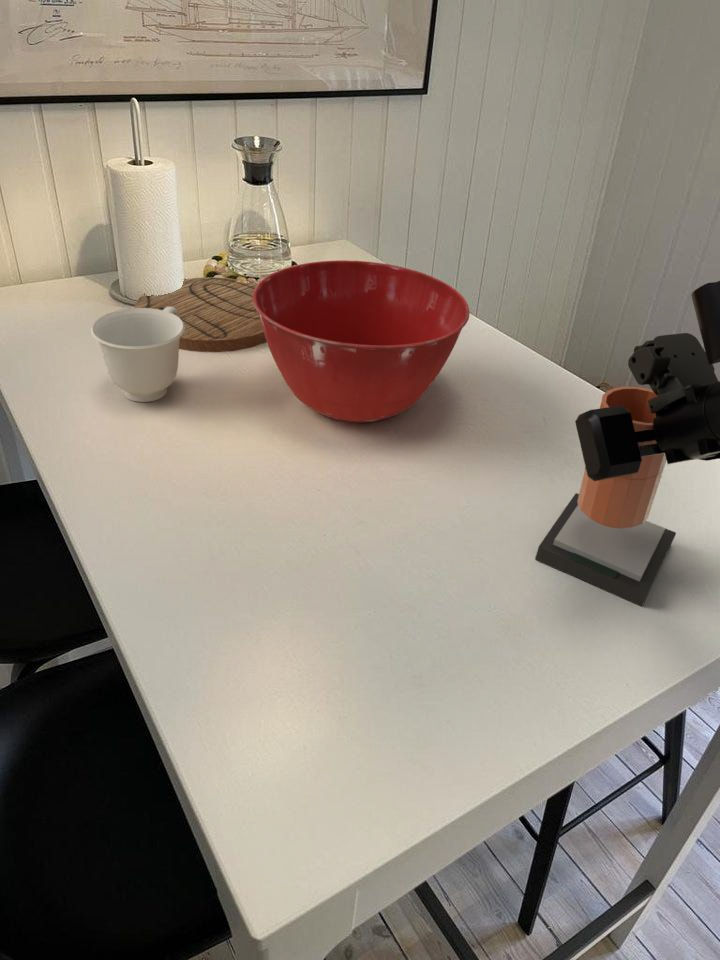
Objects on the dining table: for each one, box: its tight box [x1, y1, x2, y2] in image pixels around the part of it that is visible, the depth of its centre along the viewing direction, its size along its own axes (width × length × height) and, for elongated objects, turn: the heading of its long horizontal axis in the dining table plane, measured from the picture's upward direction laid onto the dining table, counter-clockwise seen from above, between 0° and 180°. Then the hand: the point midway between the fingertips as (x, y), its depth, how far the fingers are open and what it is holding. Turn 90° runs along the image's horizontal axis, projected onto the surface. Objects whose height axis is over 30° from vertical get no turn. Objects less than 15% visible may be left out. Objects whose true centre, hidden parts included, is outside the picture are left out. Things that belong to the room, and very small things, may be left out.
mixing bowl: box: [253, 259, 470, 424], centre depth 104 cm, size 28×28×16 cm
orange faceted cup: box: [577, 386, 667, 528], centre depth 76 cm, size 7×7×13 cm
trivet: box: [134, 276, 267, 353], centre depth 126 cm, size 25×25×2 cm
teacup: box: [90, 307, 185, 403], centre depth 104 cm, size 12×15×10 cm
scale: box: [534, 492, 677, 608], centre depth 84 cm, size 12×12×3 cm
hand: (617, 450), depth 77 cm, fingers closed on orange faceted cup, 7 cm apart
